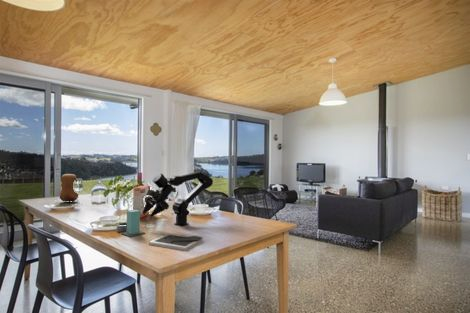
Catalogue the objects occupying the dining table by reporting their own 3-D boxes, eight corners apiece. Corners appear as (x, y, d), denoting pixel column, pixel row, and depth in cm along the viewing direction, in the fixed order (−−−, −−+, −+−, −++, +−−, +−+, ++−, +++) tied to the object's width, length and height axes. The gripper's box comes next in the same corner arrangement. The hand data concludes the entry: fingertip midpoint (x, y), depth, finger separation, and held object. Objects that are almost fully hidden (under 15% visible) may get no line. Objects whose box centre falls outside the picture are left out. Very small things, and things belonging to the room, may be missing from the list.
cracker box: (140, 218, 188) (140, 187, 188) (132, 218, 189) (132, 187, 189) (150, 214, 202) (151, 185, 201) (143, 214, 203) (143, 185, 203)
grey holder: (132, 226, 167) (132, 221, 167) (134, 230, 159) (134, 225, 159) (116, 228, 163) (116, 223, 163) (117, 232, 155) (117, 226, 155)
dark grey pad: (145, 233, 153) (145, 232, 153) (130, 237, 146) (130, 236, 146) (135, 230, 158) (135, 229, 158) (120, 234, 151) (120, 233, 151)
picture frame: (202, 242, 142) (168, 237, 149) (202, 237, 142) (168, 232, 149) (185, 252, 127) (148, 246, 135) (185, 246, 127) (148, 240, 135)
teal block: (135, 231, 156) (135, 209, 156) (139, 232, 152) (140, 210, 152) (126, 232, 152) (126, 210, 152) (130, 234, 149) (131, 212, 149)
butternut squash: (73, 200, 254) (73, 173, 254) (80, 202, 247) (81, 173, 246) (56, 202, 243) (57, 173, 243) (63, 204, 235) (64, 174, 235)
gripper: (147, 182, 168) (129, 203, 160) (164, 185, 155) (145, 208, 147) (159, 194, 174) (142, 215, 166) (176, 198, 161) (159, 220, 153)
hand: (147, 214), depth 158 cm, fingers open, 9 cm apart
